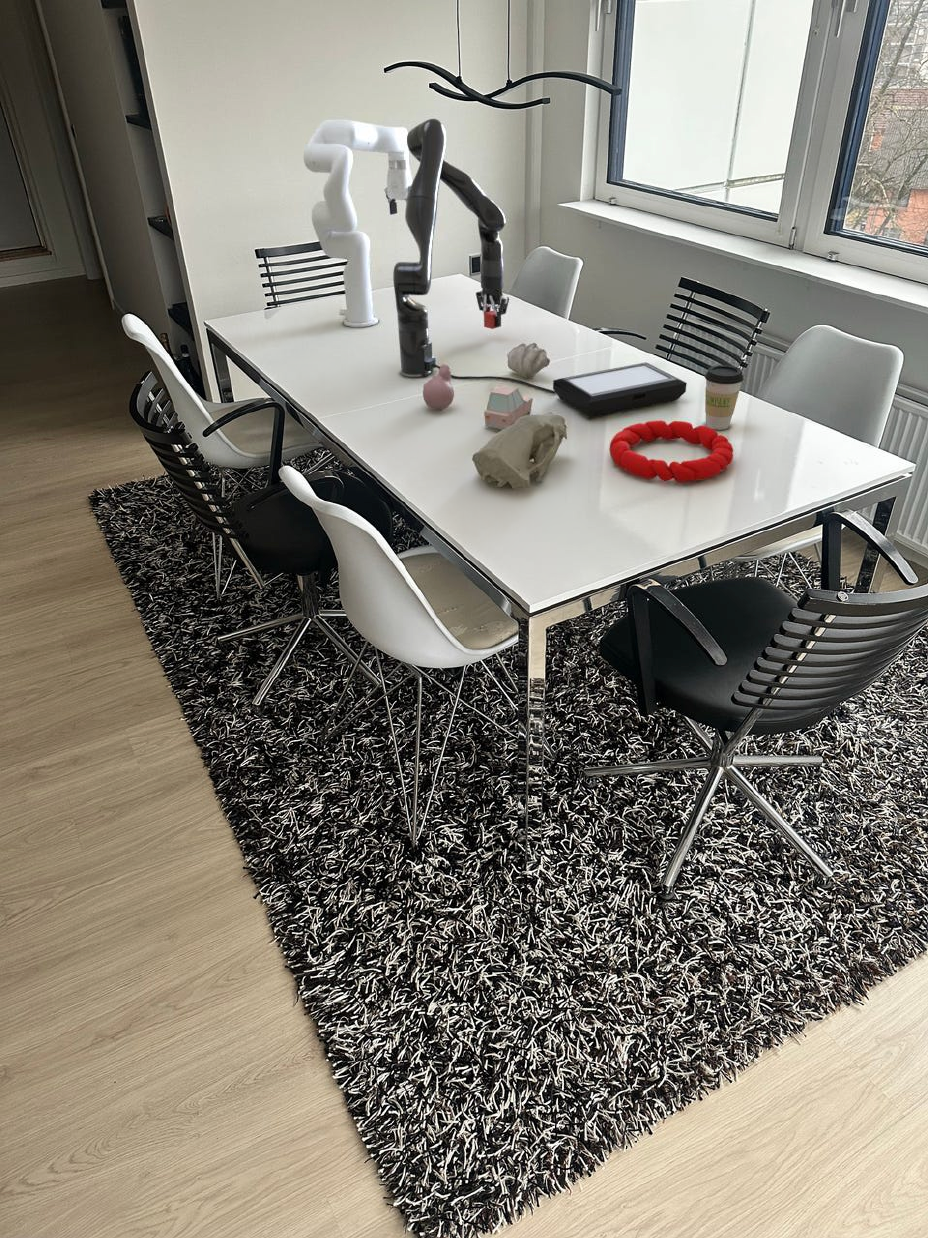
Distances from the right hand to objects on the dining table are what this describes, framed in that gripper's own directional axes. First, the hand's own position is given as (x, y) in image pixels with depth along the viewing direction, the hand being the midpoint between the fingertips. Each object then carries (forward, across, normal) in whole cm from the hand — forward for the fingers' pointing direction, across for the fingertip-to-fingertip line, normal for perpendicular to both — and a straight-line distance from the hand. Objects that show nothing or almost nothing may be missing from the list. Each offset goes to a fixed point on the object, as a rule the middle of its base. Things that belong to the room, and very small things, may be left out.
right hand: (492, 324), depth 303 cm
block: (0, 0, 0) cm, 0 cm away
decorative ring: (+6, +102, -40) cm, 109 cm away
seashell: (+5, +34, -18) cm, 39 cm away
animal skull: (+6, +80, -69) cm, 106 cm away
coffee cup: (+5, +98, -13) cm, 99 cm away
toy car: (+6, +55, -49) cm, 74 cm away
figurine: (+6, +32, -55) cm, 64 cm away
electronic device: (+5, +67, -16) cm, 69 cm away
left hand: (-26, -64, +16) cm, 71 cm away
